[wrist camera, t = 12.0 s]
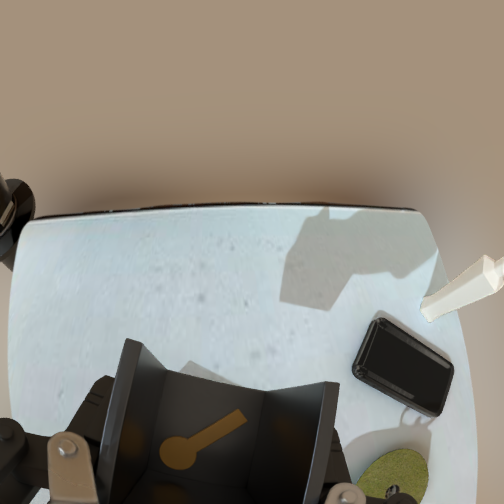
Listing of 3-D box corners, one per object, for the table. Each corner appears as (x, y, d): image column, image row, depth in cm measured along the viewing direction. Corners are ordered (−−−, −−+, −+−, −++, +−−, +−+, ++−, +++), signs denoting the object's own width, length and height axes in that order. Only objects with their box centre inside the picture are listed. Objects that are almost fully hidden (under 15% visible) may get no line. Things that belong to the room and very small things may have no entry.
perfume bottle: (444, 311, 36) (522, 266, 23) (432, 330, 34) (517, 288, 21) (427, 287, 37) (502, 235, 24) (414, 305, 35) (496, 255, 22)
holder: (137, 471, 11) (88, 526, 4) (159, 367, 14) (125, 337, 7) (252, 494, 12) (303, 561, 5) (272, 392, 15) (340, 382, 8)
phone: (378, 313, 32) (456, 366, 31) (373, 316, 33) (450, 367, 32) (353, 373, 29) (439, 420, 27) (348, 374, 30) (433, 420, 28)
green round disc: (338, 538, 20) (345, 544, 18) (344, 458, 25) (352, 460, 23) (415, 512, 22) (424, 515, 20) (421, 439, 27) (431, 439, 25)
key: (173, 474, 11) (173, 475, 11) (152, 445, 12) (151, 446, 11) (252, 428, 13) (253, 429, 13) (231, 400, 13) (232, 400, 13)
